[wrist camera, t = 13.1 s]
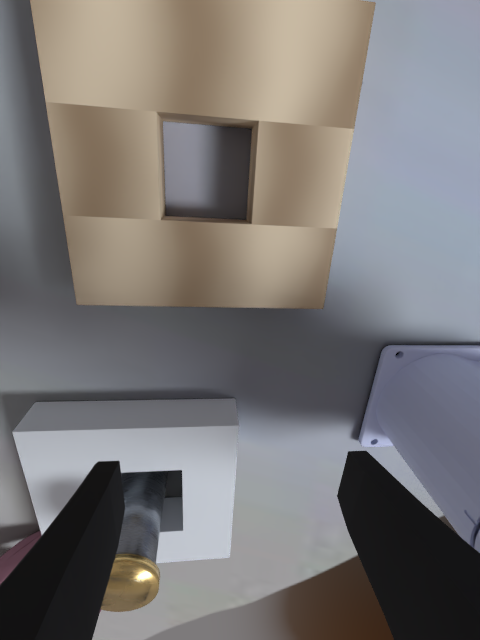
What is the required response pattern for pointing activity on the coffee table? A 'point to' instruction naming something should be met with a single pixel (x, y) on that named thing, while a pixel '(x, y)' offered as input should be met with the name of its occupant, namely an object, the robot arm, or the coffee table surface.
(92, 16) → the pin mount
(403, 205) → the coffee table surface
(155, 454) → the dock
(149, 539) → the lock pin
